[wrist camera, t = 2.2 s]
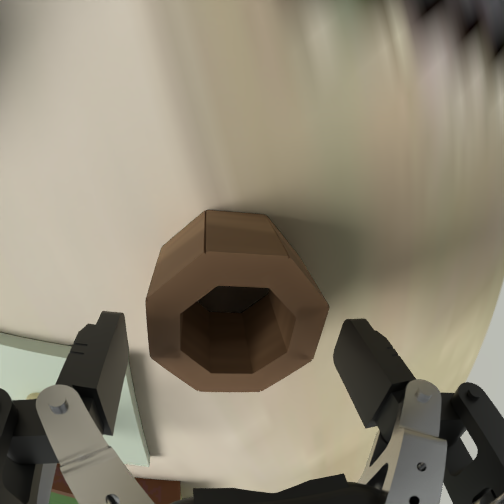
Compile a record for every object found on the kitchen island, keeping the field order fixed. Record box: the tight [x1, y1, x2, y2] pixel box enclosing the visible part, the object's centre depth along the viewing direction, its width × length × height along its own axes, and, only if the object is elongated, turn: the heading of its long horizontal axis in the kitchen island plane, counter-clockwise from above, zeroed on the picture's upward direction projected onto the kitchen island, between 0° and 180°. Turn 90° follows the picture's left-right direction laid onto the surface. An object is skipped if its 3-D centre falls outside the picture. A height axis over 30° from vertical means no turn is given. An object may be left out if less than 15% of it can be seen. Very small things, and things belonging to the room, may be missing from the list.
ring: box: [146, 210, 329, 392], centre depth 12 cm, size 6×6×4 cm
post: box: [0, 333, 150, 504], centre depth 11 cm, size 12×12×11 cm
